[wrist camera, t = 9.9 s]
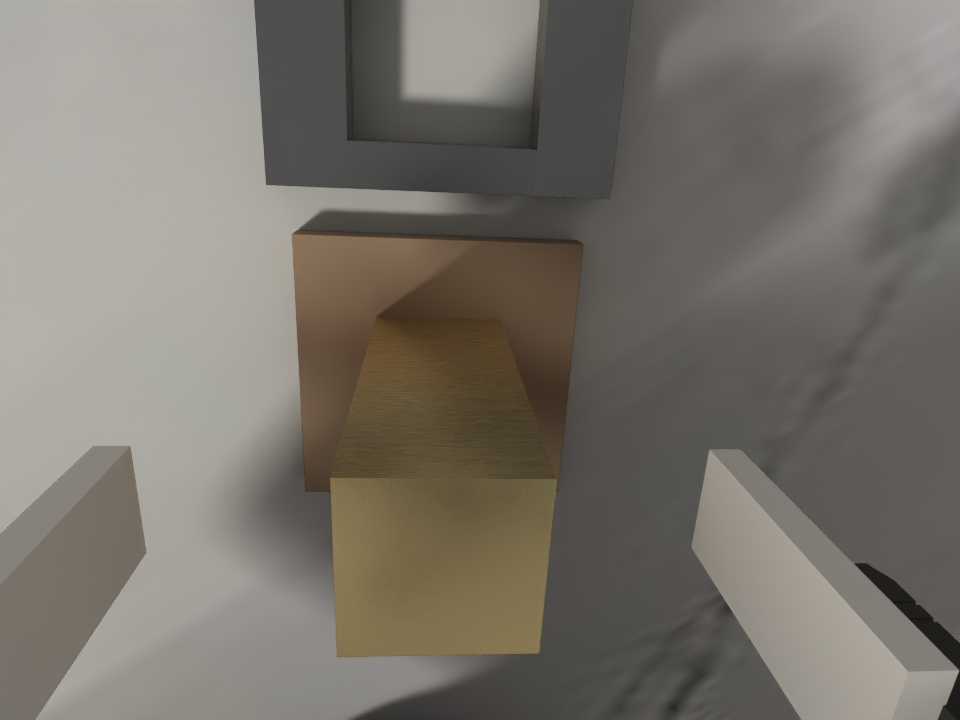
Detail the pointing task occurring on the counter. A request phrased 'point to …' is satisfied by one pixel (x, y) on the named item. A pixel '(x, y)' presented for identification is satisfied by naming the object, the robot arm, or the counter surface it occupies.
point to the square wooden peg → (440, 497)
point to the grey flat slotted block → (432, 166)
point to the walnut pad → (433, 294)
